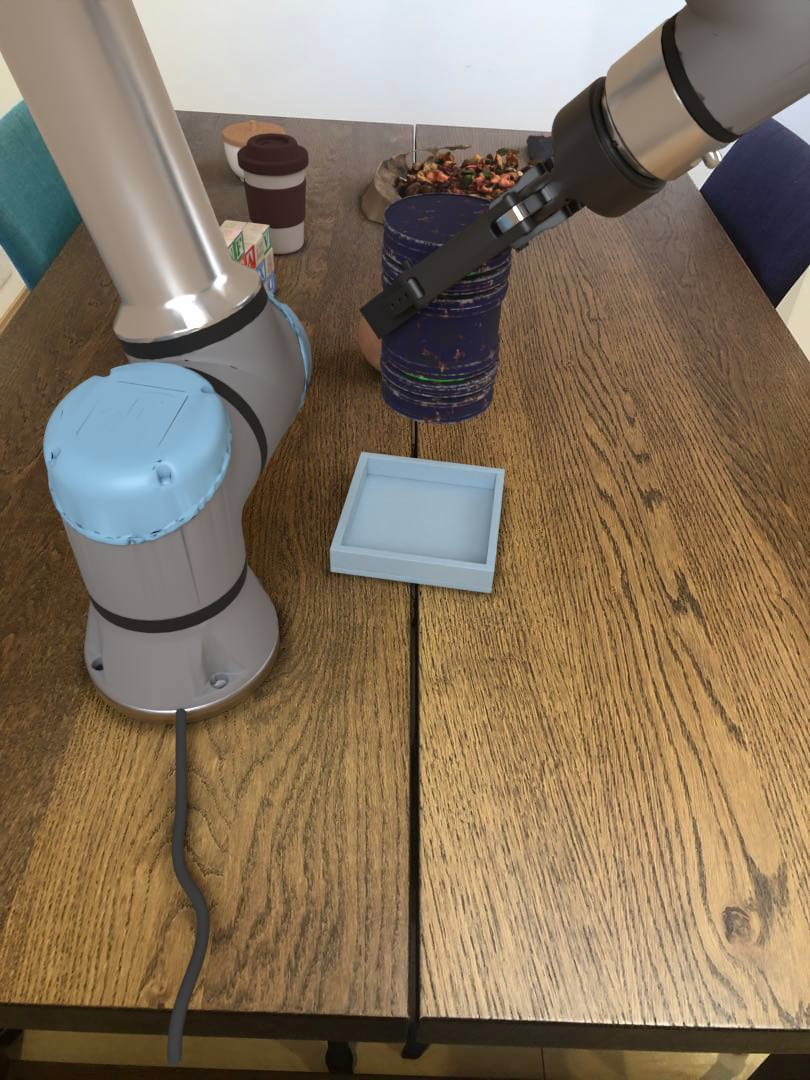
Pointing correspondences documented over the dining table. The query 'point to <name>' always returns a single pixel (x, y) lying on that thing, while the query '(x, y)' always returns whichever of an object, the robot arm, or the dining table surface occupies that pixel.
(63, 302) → the dining table surface
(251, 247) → the stack of blocks
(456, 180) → the food dish
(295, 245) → the coffee cup
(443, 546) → the tray
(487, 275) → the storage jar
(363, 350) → the onion
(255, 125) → the trinket box
